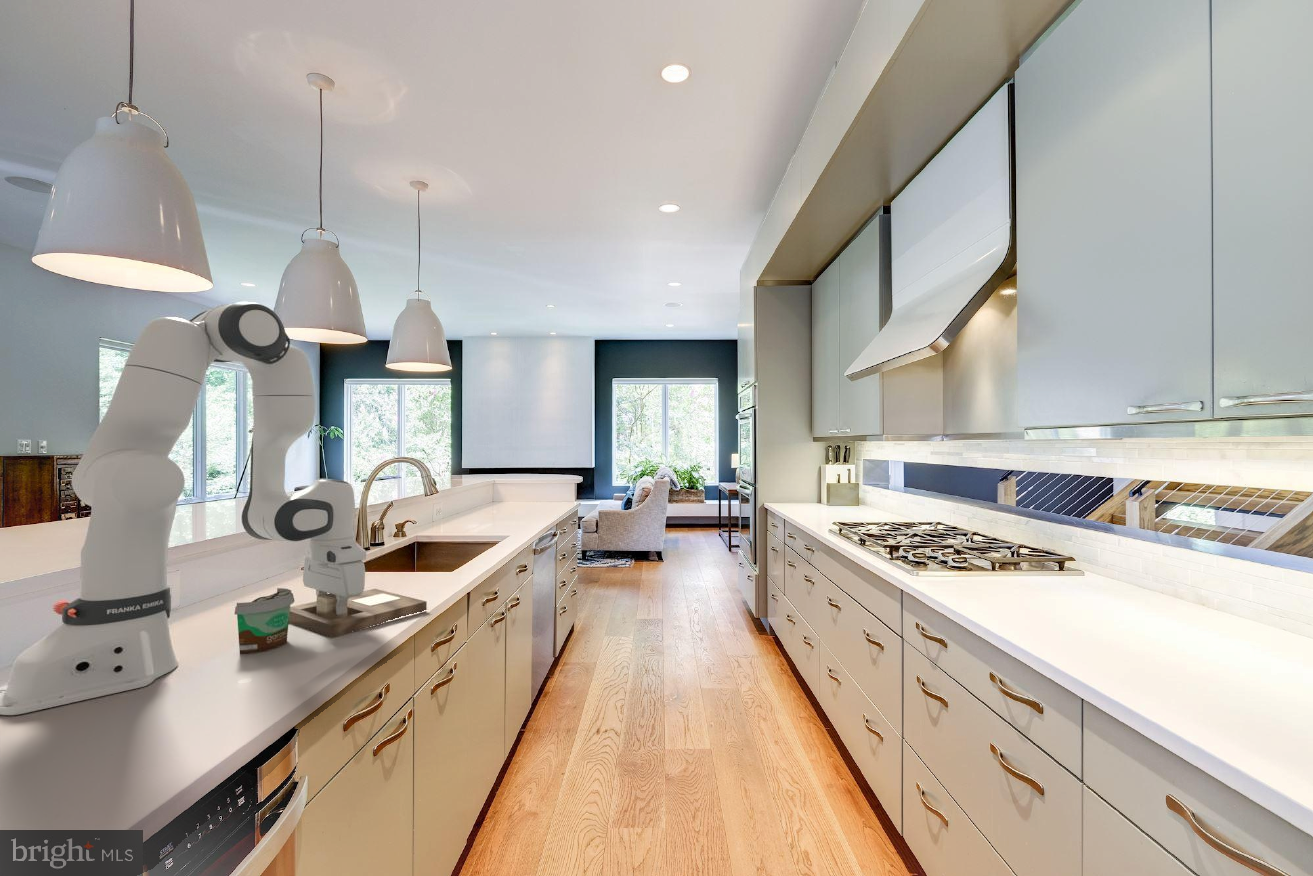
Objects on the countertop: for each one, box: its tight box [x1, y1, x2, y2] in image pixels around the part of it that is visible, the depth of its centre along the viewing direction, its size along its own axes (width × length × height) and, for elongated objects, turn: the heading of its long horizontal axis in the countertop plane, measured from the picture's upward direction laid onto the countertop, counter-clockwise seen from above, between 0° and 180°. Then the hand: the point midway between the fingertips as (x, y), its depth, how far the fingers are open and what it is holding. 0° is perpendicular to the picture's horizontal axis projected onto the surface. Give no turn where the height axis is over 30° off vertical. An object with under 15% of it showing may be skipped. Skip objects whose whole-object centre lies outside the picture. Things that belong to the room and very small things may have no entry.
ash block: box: [316, 593, 347, 620], centre depth 128 cm, size 4×4×6 cm
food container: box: [234, 587, 295, 655], centre depth 113 cm, size 12×6×10 cm, turn 179°
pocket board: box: [289, 588, 428, 638], centre depth 133 cm, size 22×22×3 cm
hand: (331, 611), depth 128 cm, fingers open, 5 cm apart
